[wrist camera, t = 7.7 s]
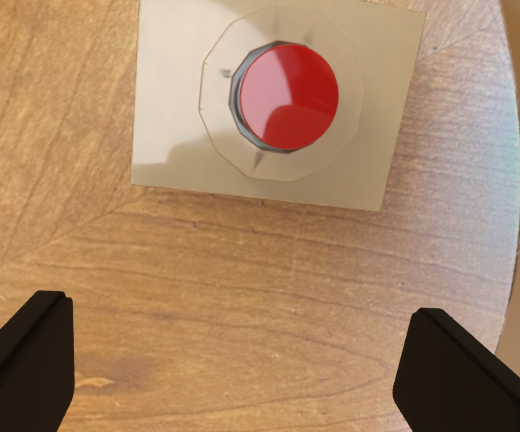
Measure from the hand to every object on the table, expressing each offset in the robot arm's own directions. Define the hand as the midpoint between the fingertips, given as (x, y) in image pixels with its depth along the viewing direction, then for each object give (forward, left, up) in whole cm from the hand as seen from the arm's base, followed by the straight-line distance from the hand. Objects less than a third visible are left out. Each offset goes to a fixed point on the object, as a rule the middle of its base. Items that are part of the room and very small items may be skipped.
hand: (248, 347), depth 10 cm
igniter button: (-1, -7, -7) cm, 10 cm away
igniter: (-1, -7, -10) cm, 12 cm away
